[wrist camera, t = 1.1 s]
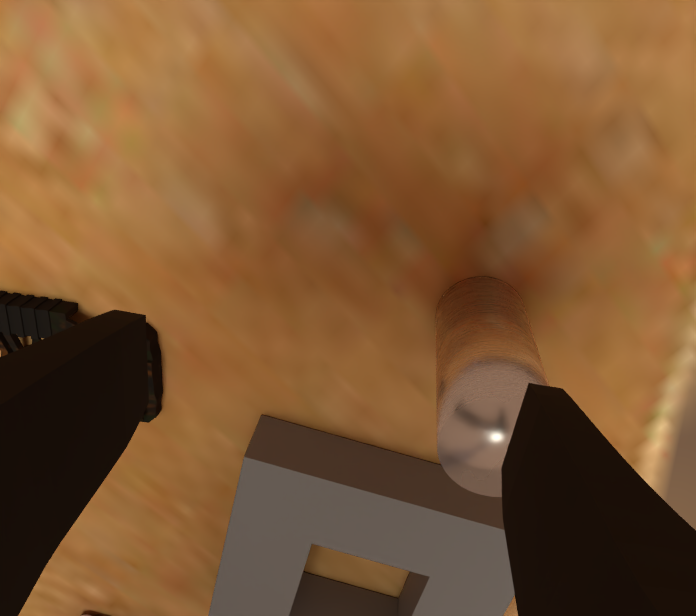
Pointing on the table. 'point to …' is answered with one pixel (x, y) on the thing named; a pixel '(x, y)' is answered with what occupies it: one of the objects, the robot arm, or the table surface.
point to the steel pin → (481, 378)
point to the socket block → (356, 531)
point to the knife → (53, 317)
